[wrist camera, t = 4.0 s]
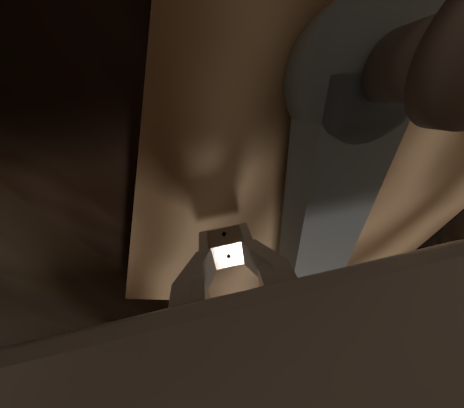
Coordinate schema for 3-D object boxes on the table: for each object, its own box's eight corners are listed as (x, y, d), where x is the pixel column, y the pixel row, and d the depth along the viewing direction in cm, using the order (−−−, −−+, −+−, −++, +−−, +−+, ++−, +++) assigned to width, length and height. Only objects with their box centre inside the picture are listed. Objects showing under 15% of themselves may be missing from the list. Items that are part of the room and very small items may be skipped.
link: (289, 1, 6) (335, -50, 4) (406, -5, 7) (501, -53, 5) (270, 291, 17) (280, 318, 15) (316, 281, 17) (333, 306, 15)
